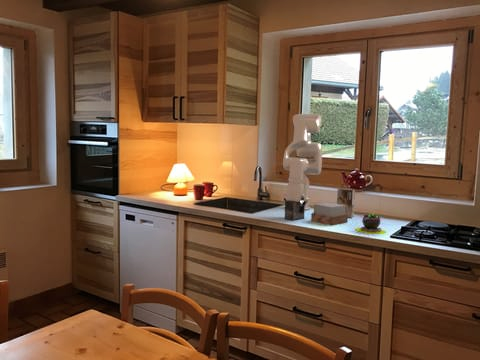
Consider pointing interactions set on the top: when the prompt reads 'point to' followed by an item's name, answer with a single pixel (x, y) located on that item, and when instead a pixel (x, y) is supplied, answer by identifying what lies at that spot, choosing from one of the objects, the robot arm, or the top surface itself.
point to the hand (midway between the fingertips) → (294, 211)
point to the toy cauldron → (371, 225)
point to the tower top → (329, 209)
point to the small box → (293, 210)
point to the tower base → (329, 219)
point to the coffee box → (347, 200)
